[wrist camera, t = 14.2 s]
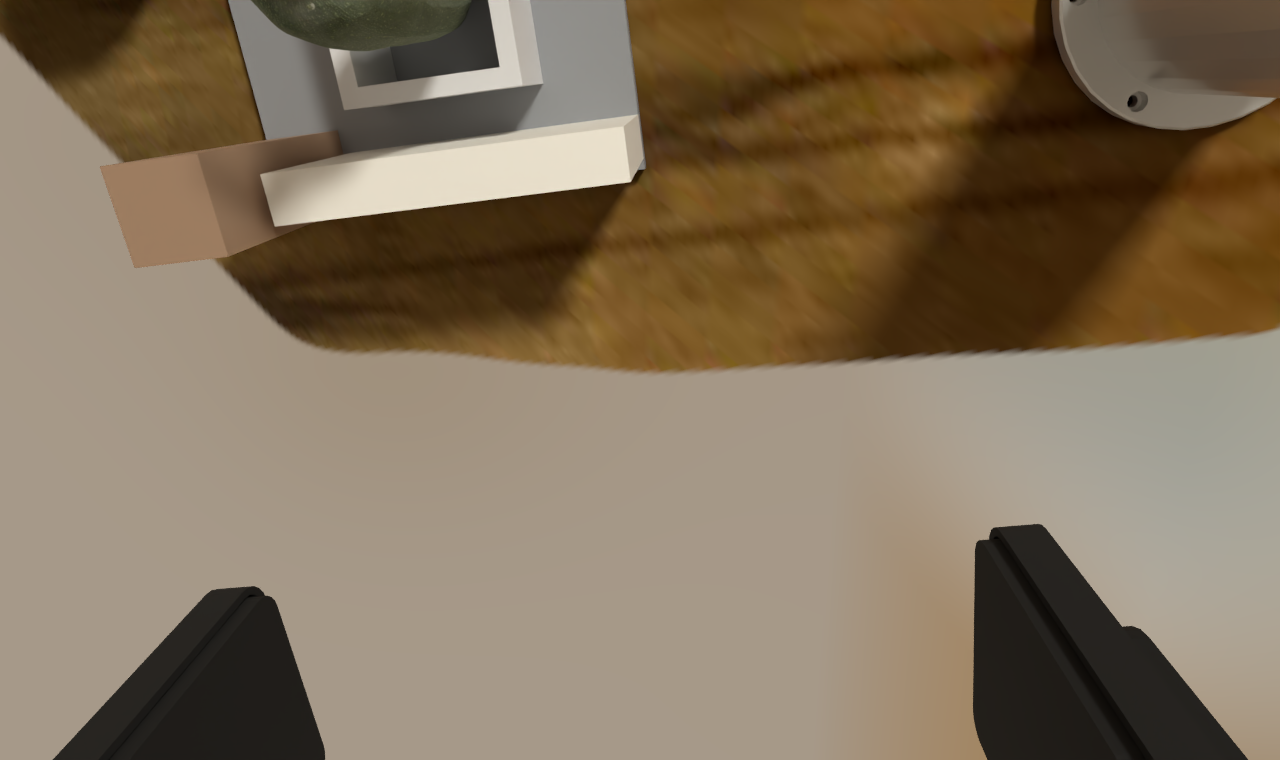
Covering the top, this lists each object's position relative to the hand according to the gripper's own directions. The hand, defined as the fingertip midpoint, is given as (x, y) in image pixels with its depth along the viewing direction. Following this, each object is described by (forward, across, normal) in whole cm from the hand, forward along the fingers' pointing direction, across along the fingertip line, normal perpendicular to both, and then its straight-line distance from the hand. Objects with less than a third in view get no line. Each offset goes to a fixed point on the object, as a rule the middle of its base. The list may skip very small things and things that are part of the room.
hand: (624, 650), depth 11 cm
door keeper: (+32, +10, -9) cm, 35 cm away
